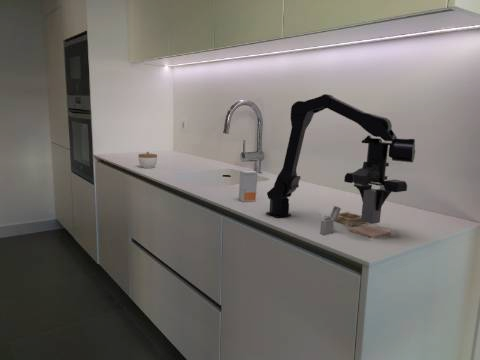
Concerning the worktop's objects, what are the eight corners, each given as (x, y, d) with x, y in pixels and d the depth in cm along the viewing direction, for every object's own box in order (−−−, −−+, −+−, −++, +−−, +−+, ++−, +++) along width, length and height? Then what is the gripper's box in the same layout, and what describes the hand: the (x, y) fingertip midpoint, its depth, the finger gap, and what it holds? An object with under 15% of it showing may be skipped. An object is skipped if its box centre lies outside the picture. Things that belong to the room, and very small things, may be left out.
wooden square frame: (332, 220, 137) (332, 214, 137) (347, 217, 142) (347, 211, 142) (351, 226, 131) (351, 220, 131) (366, 222, 136) (366, 217, 135)
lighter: (324, 235, 120) (326, 209, 119) (319, 233, 121) (321, 208, 120) (338, 231, 124) (341, 206, 123) (334, 230, 126) (336, 205, 124)
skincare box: (242, 202, 158) (243, 172, 156) (238, 199, 162) (239, 170, 160) (256, 201, 161) (257, 171, 159) (252, 199, 165) (253, 170, 163)
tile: (348, 230, 126) (348, 228, 126) (366, 226, 132) (366, 224, 132) (373, 238, 119) (373, 236, 119) (390, 233, 125) (390, 231, 125)
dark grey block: (360, 220, 125) (364, 189, 124) (368, 219, 128) (371, 188, 126) (371, 224, 122) (375, 192, 120) (379, 222, 125) (383, 190, 123)
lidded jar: (141, 169, 230) (141, 153, 228) (136, 166, 239) (136, 150, 237) (159, 168, 235) (159, 152, 233) (153, 166, 244) (154, 150, 242)
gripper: (335, 156, 124) (330, 205, 127) (388, 164, 109) (382, 219, 112) (357, 155, 131) (353, 201, 133) (411, 162, 116) (404, 215, 119)
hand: (371, 209), depth 124 cm, fingers closed on dark grey block, 4 cm apart
